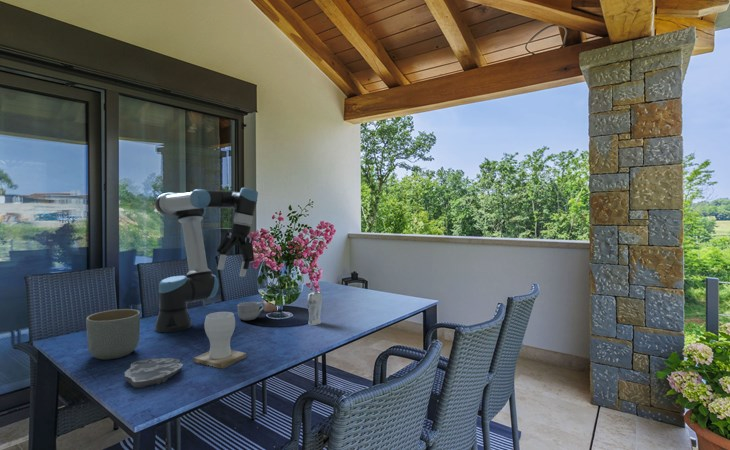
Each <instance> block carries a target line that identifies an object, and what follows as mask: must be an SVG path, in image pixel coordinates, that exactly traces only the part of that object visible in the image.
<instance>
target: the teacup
mask: <svg viewBox="0 0 730 450" xmlns="http://www.w3.org/2000/svg"><path fill="white" fill-rule="evenodd" d="M261 305H262V307H261V308H260V306H261ZM264 308H265V304H264V301H261V302H258V301H246V302H245V301H244V302H240V303H238V304H237V314H238V318H239V319H240V320H242V321H252V320H255V319H257V318H258V316H259V315H260V313H261V312H262V311H264Z"/></svg>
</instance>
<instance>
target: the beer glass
mask: <svg viewBox="0 0 730 450" xmlns="http://www.w3.org/2000/svg"><path fill="white" fill-rule="evenodd" d="M322 295H323V294H322V292H320V291H310V292H308V293H307V309H308V316H309V317H308V325H310V326H318V325H321V324H322V321H321V312H322V311H321V310H322V306H323V305H322V304H323V298H322V297H323V296H322Z"/></svg>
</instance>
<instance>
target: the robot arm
mask: <svg viewBox="0 0 730 450" xmlns="http://www.w3.org/2000/svg"><path fill="white" fill-rule="evenodd" d="M258 196H259V192H258V190H255V189H252V188H249V187H241V188H240V191H234V190H229V189H228V190H215V189H199V188H198V189H194V190H192V191H190V192H165V193H161V194H160V195H158V196H157V197H156V199H155V201H154V207H155V209H156V210H157V212H158V213H160V215H164V216H166V217H177V222H179V223H180V224H181V227H182V235H183V240H184V246H185V252H186V259H187V268H188V272H187V273H186V275H176V276H175V275H174V276H169V277H166V278H163V279H162V280H160V281H159V284H158V305H159V306H158V309H159V310H158V315H157V318H156V322H155V324H154V330H155V331H156V332H158V333H176V332H182V331H185V330H189V329H190V328H191V327H192V320H191V317H190V314H189V310H188V303H189V304H190V303H194V302H199V301H206V300H208V299H212V298H214V297H215V296H216V295H217V293H218V290H219V286H220V285H219V279H218V277H217V275H215V274H213V272H212V270H211V269H209V268H208V267H209V266H208V262H207V256H206V249H205V244H204V243H205V242H204V235H203V230H202V224H201V222H202V220H203V219H204V216H205V215H206V213H207V209H235V211H234V212H235V213H234V217H233V220H232V224H231V230H230V231H231V232H226V233H225V236H224V238H223V240H222V241H221V243H219V244H220V245H219V246H218V247H217V249H216V252H218V253H219V257H218V263H217V270H219V271H221V270H222V271H224V269H225V263H226V260H227V253H228V252H229V251H231V249H232V248H233V247H234V246H237V247H238V248H240V251H241V254H242V258H243V260H242V262H241V266H240V270H239V274H238V275H239V277H241V278H242V277H244V278H246V274H247V271H248V270H249V266H250V263H251V262H254V261H255V254H254V248H253V241H254V239H253V238H252V237H248V236H249V235H250V234H251V233H250V232H251V229H252V228H251V225H252V223H253V218H254V215H255V210H256V205H257V202H258Z"/></svg>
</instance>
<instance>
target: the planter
mask: <svg viewBox="0 0 730 450" xmlns="http://www.w3.org/2000/svg"><path fill="white" fill-rule="evenodd" d="M85 322H86V337H87V338H86V339H87V349H88V352H89V354H90V355H91V356H92V357H94V358H96V359H98V360H103V361H104V360H117V359H120V358H123V357H126V356H128V355H130V354H131V353H132V352H134V351H135V350H136V349H137V347H138V345H139V342H140V333H141V332H140V331H141V330H140V328H141V327H140V326H141V312H140V310H138V309H132V308H131V309H130V308H122V309H121V308H120V309H110V310H104V311H100V312H95V313H92V314H89V315H88V316H86V319H85Z"/></svg>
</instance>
